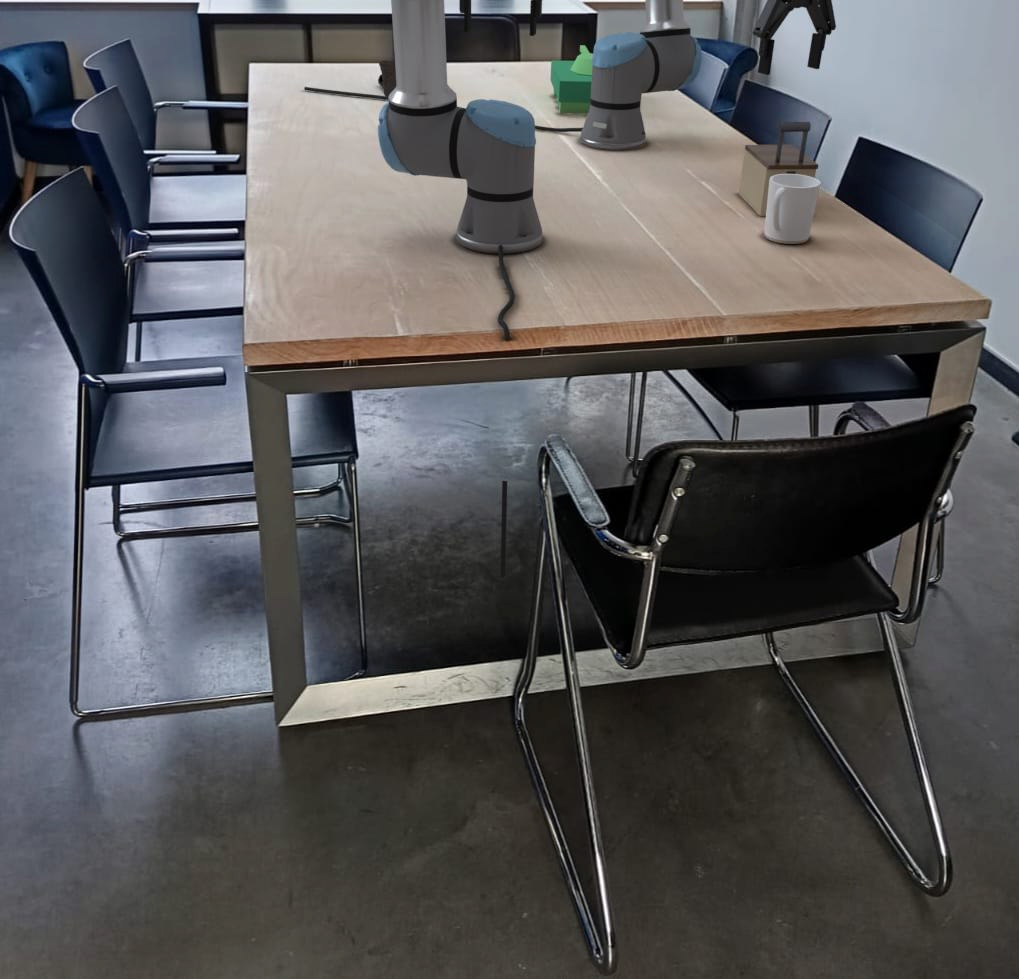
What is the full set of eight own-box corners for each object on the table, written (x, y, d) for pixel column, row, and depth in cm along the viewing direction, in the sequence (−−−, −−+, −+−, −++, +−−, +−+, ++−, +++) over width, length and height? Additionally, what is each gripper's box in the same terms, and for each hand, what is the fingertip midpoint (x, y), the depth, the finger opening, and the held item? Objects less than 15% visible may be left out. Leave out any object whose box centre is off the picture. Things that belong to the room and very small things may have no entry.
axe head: (443, 87, 294) (392, 77, 287) (436, 115, 299) (385, 106, 292) (421, 62, 307) (371, 52, 300) (414, 89, 311) (365, 80, 304)
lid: (817, 169, 207) (825, 125, 202) (768, 169, 206) (774, 125, 201) (792, 148, 219) (798, 106, 215) (744, 148, 218) (750, 107, 214)
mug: (775, 225, 205) (784, 170, 200) (819, 236, 201) (829, 180, 195) (747, 240, 198) (754, 183, 193) (791, 251, 193) (801, 193, 188)
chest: (808, 215, 212) (816, 168, 207) (759, 216, 211) (766, 168, 206) (785, 193, 224) (791, 148, 219) (738, 194, 223) (744, 149, 218)
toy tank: (613, 42, 302) (631, 66, 272) (610, 88, 309) (627, 117, 279) (549, 40, 301) (560, 65, 272) (547, 87, 308) (558, 116, 278)
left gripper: (569, -84, 211) (563, 33, 222) (445, -89, 216) (446, 26, 227) (561, -82, 205) (556, 39, 216) (434, -87, 210) (435, 32, 221)
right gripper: (771, -41, 203) (755, 79, 214) (866, -46, 214) (846, 68, 225) (744, -45, 208) (729, 72, 219) (838, -50, 219) (820, 62, 231)
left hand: (500, 33), depth 222 cm, fingers open, 13 cm apart
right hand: (788, 70), depth 222 cm, fingers open, 13 cm apart
